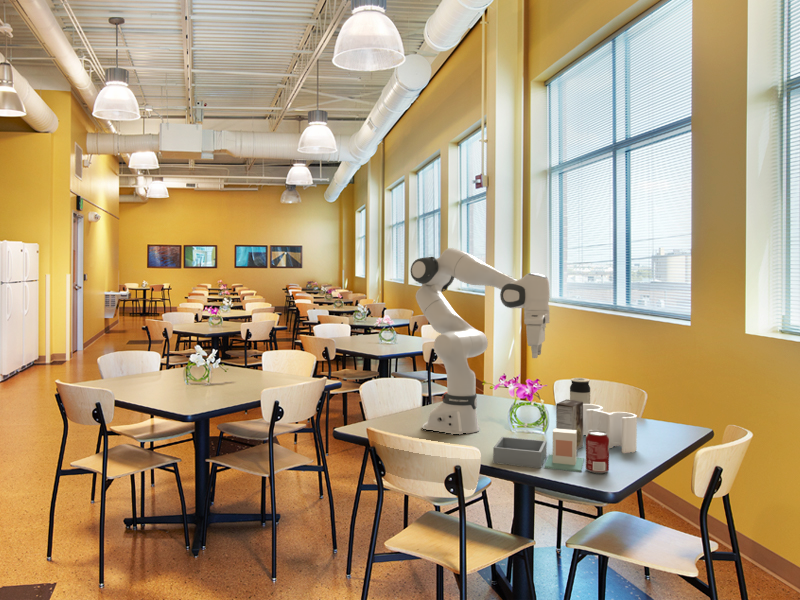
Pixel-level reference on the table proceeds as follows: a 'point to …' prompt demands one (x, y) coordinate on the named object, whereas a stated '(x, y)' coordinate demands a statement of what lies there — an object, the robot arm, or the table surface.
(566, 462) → the label box
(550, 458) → the mat
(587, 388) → the travel mug
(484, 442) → the table surface
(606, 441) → the soda can
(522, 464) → the parts bin
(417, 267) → the robot arm
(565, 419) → the coffee box
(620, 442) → the bracket
